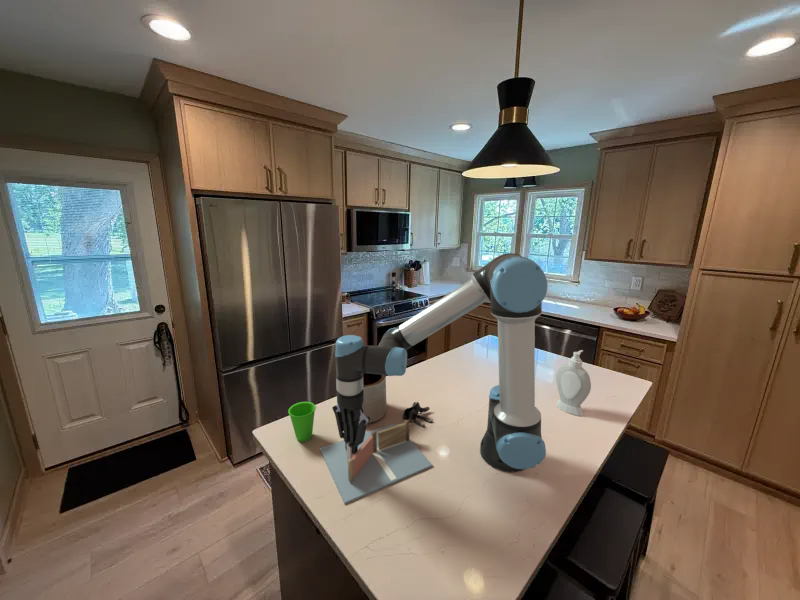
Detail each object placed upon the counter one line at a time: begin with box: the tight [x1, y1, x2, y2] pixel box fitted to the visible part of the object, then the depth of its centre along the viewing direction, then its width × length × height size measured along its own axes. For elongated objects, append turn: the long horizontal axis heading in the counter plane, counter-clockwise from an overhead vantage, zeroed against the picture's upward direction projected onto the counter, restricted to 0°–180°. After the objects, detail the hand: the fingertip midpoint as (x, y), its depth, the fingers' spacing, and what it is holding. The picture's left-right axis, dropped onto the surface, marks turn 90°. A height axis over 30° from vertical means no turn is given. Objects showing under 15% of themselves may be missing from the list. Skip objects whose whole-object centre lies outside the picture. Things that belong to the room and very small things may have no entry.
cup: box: [287, 401, 317, 443], centre depth 110 cm, size 9×9×11 cm
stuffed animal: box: [402, 401, 434, 428], centre depth 124 cm, size 12×10×12 cm
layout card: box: [319, 422, 433, 505], centre depth 101 cm, size 24×28×1 cm
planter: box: [359, 373, 388, 425], centre depth 124 cm, size 18×18×16 cm
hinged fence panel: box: [348, 436, 373, 482], centre depth 95 cm, size 13×2×6 cm, turn 156°
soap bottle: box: [555, 349, 592, 417], centre depth 125 cm, size 13×8×24 cm, turn 39°
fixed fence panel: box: [371, 420, 411, 453], centre depth 106 cm, size 2×14×8 cm, turn 119°
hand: (351, 460), depth 96 cm, fingers closed
